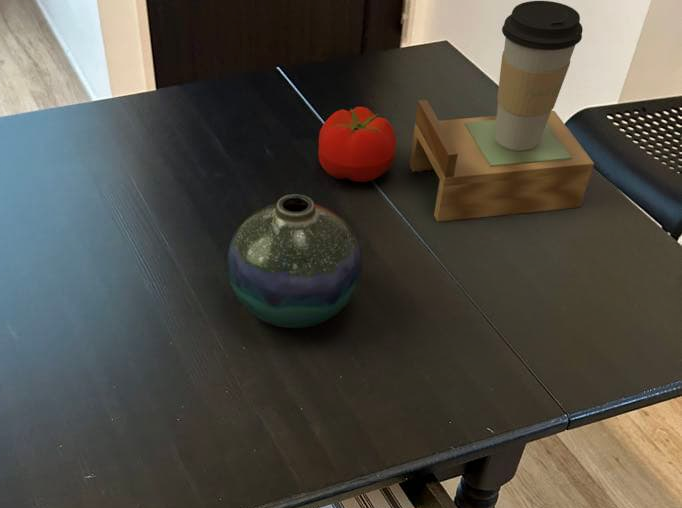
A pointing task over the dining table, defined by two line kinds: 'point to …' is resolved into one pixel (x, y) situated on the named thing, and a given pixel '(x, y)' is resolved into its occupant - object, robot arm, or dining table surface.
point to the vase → (294, 263)
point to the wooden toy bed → (497, 167)
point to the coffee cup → (533, 69)
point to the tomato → (356, 145)
